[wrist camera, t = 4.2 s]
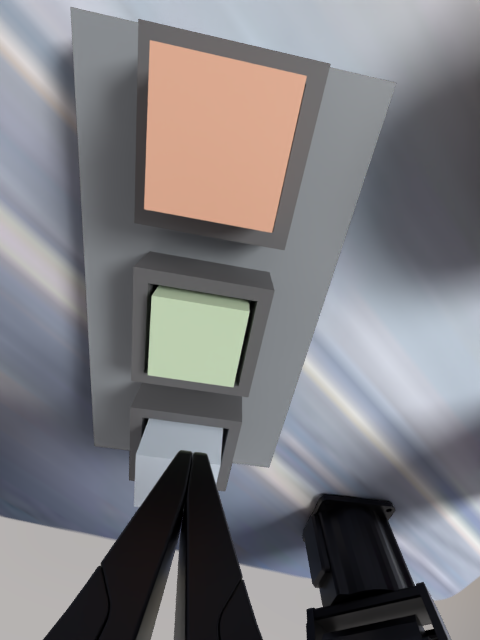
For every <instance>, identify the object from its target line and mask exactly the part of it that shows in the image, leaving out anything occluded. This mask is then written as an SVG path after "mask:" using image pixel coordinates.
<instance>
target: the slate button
mask: <svg viewBox="0 0 480 640" xmlns="http://www.w3.org/2000/svg"><path fill="white" fill-rule="evenodd" d="M222 436H223V428H218V427H211V426H203V425H196V424H188V423H180V422H173V421H165V420H158V419H150V418H149V420H148V423H147V425H146V428H145V431H144V434H143V436H142V439H141V442H140V444H139V447H138V450H137V453H136V463H135V492H134V507H140V506H141V504H142V503H143V502H144V500H145V499H146V497H147V496H148V494H149V493H150V491H151V490H152V489H153V487H154V486H155V484H156V483H157V481H158V480H159V479H160V477H161V476H162V474H163V473H164V471H165V470H166V468H167V467H168V466H169V464H170V463H171V461H172V460H173V458H174V457H175V456H176V454H177V453H178V452H179V451H180V450H186V451H191V452H192V453H194V452H202V453H206V454H207V455H208V458H209V461H210V465H211V468H212V472H213V475H214V479H215V482H216V483H217V479H218V474H219V470H220V465H221V451H222Z"/></svg>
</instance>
